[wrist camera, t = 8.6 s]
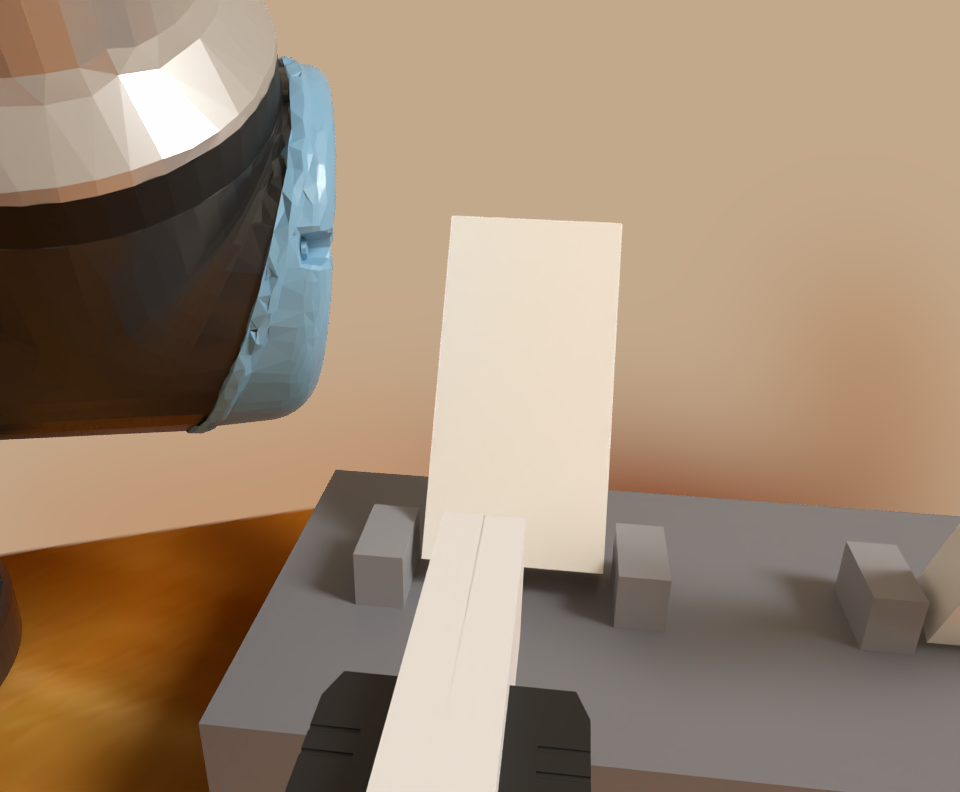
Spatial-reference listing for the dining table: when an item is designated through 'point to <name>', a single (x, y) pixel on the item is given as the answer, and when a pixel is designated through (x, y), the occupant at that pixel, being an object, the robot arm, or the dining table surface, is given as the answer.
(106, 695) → the dining table surface
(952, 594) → the lever
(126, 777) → the dining table surface
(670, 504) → the switch unit
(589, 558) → the lever
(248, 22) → the robot arm
